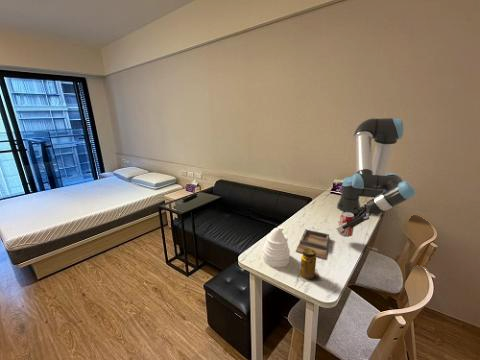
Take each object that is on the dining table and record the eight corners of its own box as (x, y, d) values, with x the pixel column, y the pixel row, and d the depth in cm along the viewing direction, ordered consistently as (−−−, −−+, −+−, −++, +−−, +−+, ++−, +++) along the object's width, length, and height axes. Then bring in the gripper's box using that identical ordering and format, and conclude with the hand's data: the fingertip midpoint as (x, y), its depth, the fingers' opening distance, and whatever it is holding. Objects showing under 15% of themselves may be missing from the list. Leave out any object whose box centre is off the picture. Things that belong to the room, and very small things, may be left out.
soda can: (335, 231, 122) (337, 211, 119) (347, 230, 123) (350, 210, 119) (342, 238, 116) (344, 217, 112) (355, 237, 116) (358, 216, 113)
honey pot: (294, 257, 110) (295, 224, 104) (280, 271, 100) (282, 236, 95) (271, 247, 118) (272, 217, 112) (257, 260, 108) (257, 227, 103)
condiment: (297, 269, 101) (299, 246, 98) (316, 269, 101) (318, 246, 98) (301, 281, 94) (303, 257, 91) (322, 281, 94) (324, 257, 91)
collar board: (304, 234, 131) (304, 228, 130) (329, 239, 125) (330, 234, 124) (295, 252, 114) (296, 246, 113) (324, 260, 108) (325, 254, 107)
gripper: (385, 219, 99) (341, 241, 111) (383, 202, 115) (345, 223, 128) (373, 206, 99) (331, 230, 112) (373, 191, 116) (336, 213, 128)
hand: (338, 226), depth 120 cm, fingers closed on soda can, 7 cm apart
